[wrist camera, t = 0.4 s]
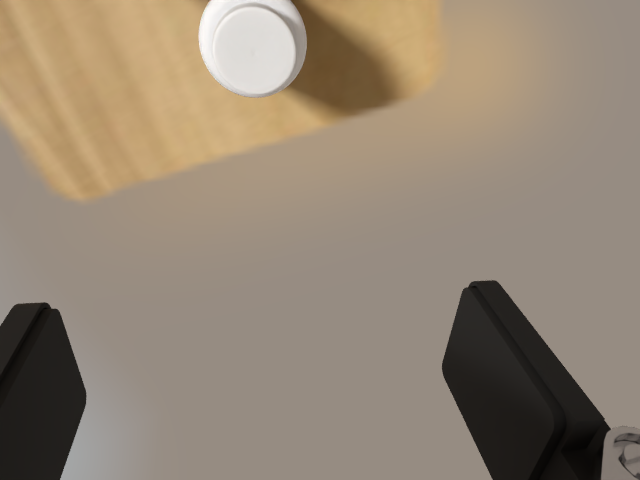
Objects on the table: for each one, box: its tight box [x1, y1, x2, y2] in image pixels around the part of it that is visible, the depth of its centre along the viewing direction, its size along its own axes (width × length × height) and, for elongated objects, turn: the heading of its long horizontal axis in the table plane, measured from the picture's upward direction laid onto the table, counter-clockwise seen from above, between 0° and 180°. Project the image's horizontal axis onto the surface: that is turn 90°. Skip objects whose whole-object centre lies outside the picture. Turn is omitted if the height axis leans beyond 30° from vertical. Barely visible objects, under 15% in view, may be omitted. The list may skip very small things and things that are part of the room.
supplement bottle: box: [199, 0, 307, 97], centre depth 25 cm, size 6×6×10 cm
